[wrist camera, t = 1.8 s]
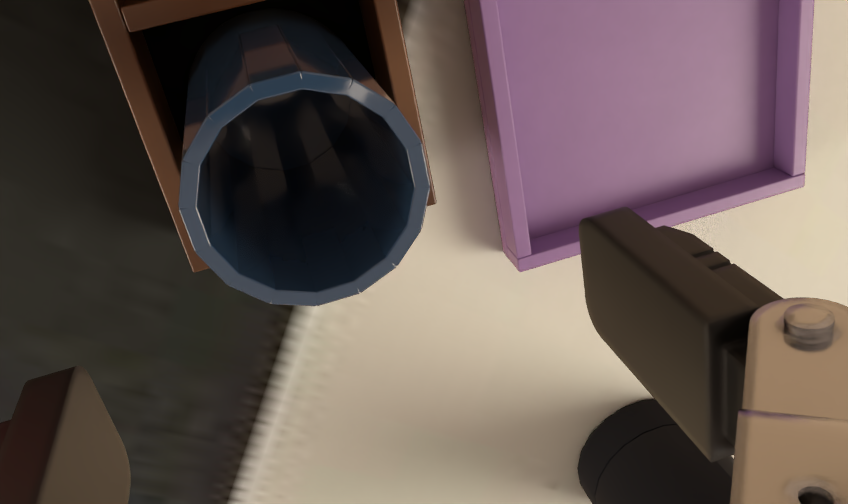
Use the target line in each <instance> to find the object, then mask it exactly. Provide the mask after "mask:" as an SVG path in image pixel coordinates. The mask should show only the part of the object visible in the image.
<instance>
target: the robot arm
mask: <svg viewBox="0 0 848 504" xmlns="http://www.w3.org/2000/svg"><path fill="white" fill-rule="evenodd" d="M579 241H580V251H581V260H582V269H583V279H584V288H585V297H586V304H587V308H588V312H589V315H590V318H591V320H592V323H593V325H594V327H595V329H596V331H597V332H598V334H599V335H600V336H601V338H602V339H603V340H604V341H605V342H606V343H607V345H608V346H609V347H610V348H611V349H612V350H613V351H614V353H615V354H616V355H617V356H618V357H619V358H620V359H621V361H622V362H623V363H624V364H625V365H626V366H627V367H628V368H629V370H630V371H631V372H632V373H633V374H634V375H635V376H636V378H637V379H638V380H639V381H640V382H641V383H642V384H643V386H644V387H645V388H646V389H647V390H648V391H649V392H650V394H651V395H652V396H653V397H654V398H655V399H656V400H657V402H658V403H659V404H660V405H661V406H662V407H663V408H664V410H665V411H666V412H667V413H668V414H669V415H670V416H671V418H672V419H673V420H674V421H675V422H676V423H677V424H678V425H679V427H680V428H681V429H682V430H683V431H684V432H685V433H686V435H687V436H688V437H689V438H690V439H691V440H692V441H693V443H694V444H695V445H696V446H697V447H698V448H699V449H700V451H701V452H702V453H703V454H704V455H705V456H706V457H707V459H708V460H709V461H710V462H714V461H717V460H720V459H723V458H726V457H729V456H731V455H734V464H733V474H732V485H731V496H730V504H848V307H847V306H844V305H842V304H839V303H836V302H832V301H829V300H823V299H818V298H787V299H783V298H782V297H780V296H779V295H778V294H776V293H775V292H773V291H772V290H771V289H769V288H768V287H766V286H765V285H764V284H762V283H761V282H759V281H758V280H757V279H755V278H754V277H752V276H751V275H750V274H748V273H747V272H745V271H744V270H742V269H741V268H740V267H738V266H737V265H735V264H731V263H730V260H728V259H727V258H726V257H724V256H723V255H721V254H720V253H719V252H714V251H713V248H712V247H710V246H709V245H707V244H706V243H704V242H703V241H702V240H700V239H699V238H697V237H696V236H695V235H693V234H690V233H687V232H684V231H681V230H678V229H674V228H671V227H668V226H665V225H663V226H660V227H656V228H655V227H653V226H652V225H651V224H650V223H648V222H647V221H646V220H644V219H643V218H642V217H640V216H639V215H638V214H636V213H635V212H634V211H632V210H631V209H630V208H628V207H620V208H617V209H614V210H610V211H607V212H603V213H600V214H597V215H593V216H590V217H586V218H583V219H582V220H581V221H580V224H579ZM130 484H131V474H130V466H129V461H128V457H127V453H126V450H125V447H124V445H123V442H122V440H121V438H120V436H119V434H118V432H117V430H116V428H115V426H114V424H113V422H112V420H111V418H110V416H109V414H108V412H107V410H106V408H105V405H104V403H103V401H102V399H101V397H100V395H99V393H98V391H97V389H96V387H95V385H94V383H93V381H92V379H91V377H90V375H89V374H88V372H87V371H86V370H85V369H84V368H83V367H81V366H75V367H72V368H69V369H65V370H62V371H58V372H55V373H52V374H48V375H45V376H41V377H38V378H35V379H31V380H28V381H27V382H26V383H25V385H24V387H23V390H22V393H21V395H20V398H19V401H18V403H17V406H16V409H15V411H14V414H13V417H12V419H11V420H8V421H5V422H2V423H0V504H128V500H129V492H130Z"/></svg>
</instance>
